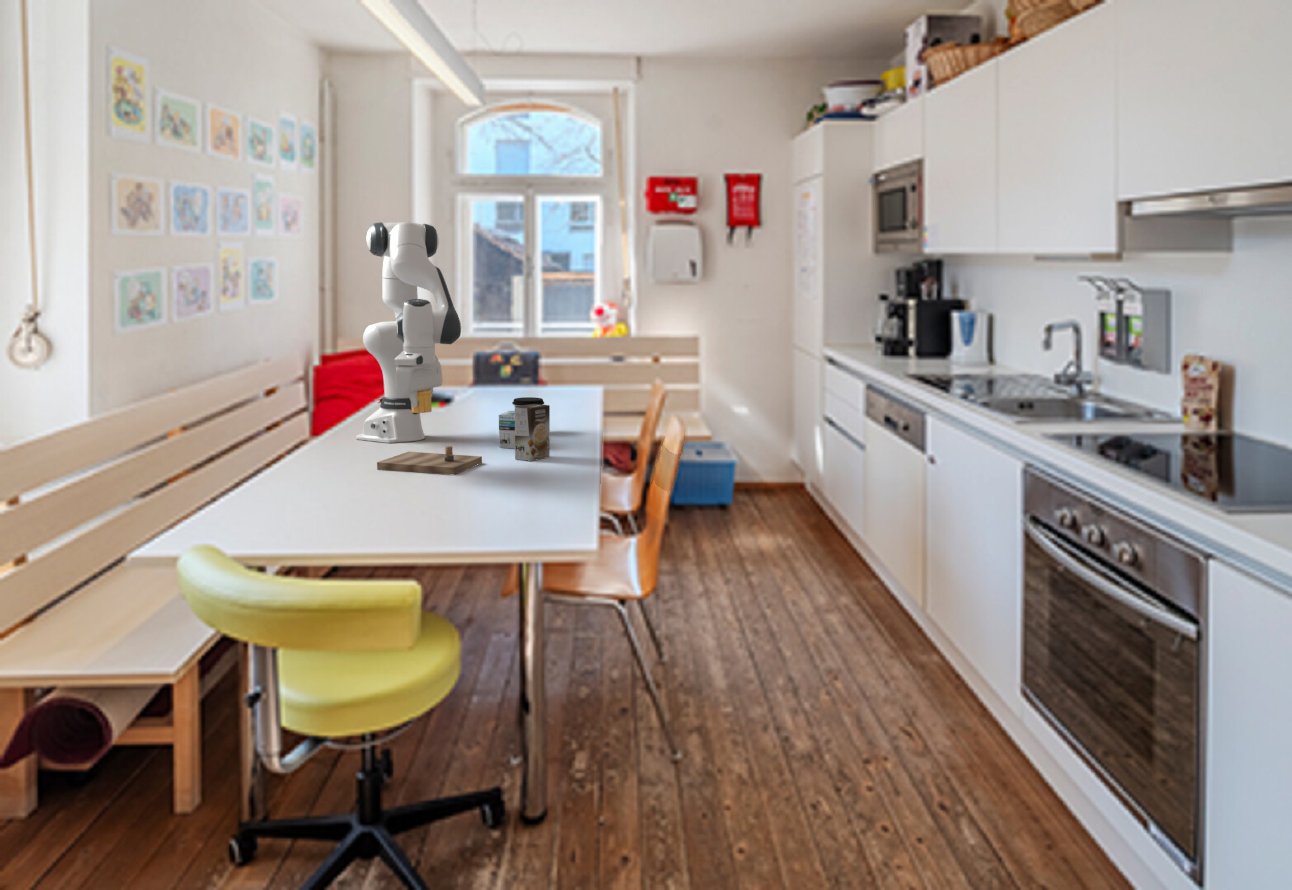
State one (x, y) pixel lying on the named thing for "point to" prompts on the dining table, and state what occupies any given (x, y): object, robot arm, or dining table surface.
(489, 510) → the dining table surface
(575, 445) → the dining table surface
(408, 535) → the dining table surface
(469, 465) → the wooden peg board
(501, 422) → the light bulb box
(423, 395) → the wire cap
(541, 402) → the coffee cup
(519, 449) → the coffee box
